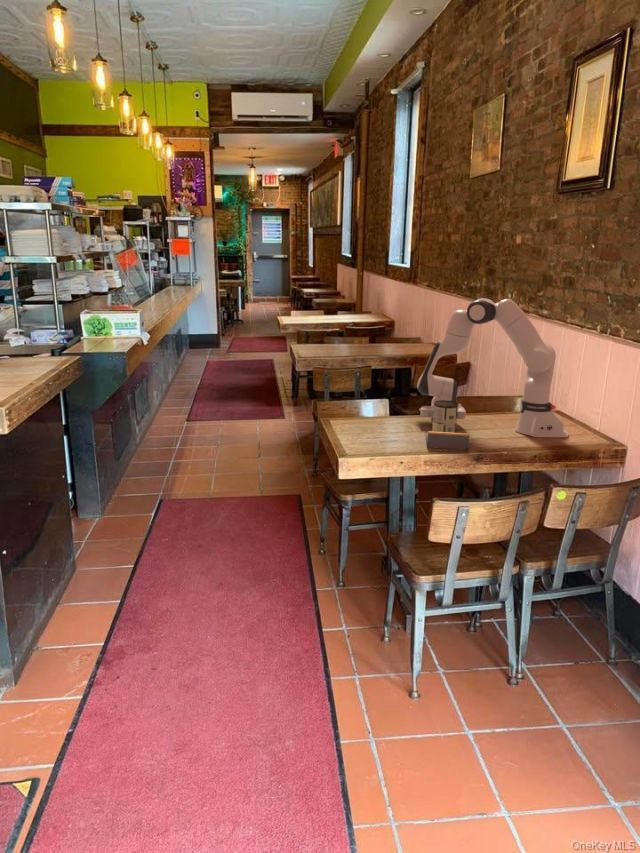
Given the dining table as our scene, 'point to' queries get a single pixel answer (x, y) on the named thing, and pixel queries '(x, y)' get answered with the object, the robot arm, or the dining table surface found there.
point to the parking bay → (447, 440)
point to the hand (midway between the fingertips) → (443, 417)
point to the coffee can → (445, 416)
